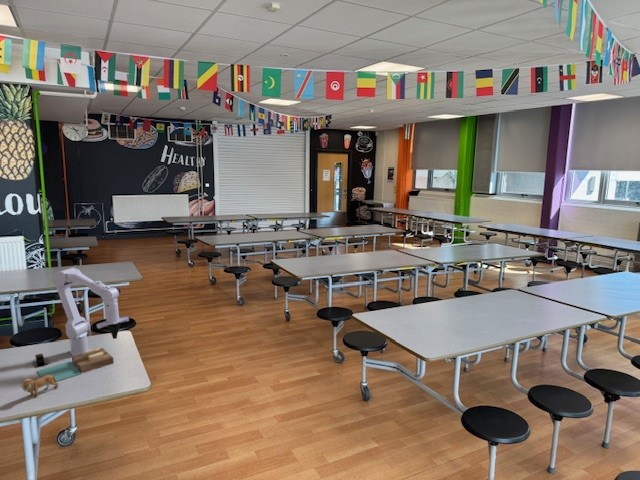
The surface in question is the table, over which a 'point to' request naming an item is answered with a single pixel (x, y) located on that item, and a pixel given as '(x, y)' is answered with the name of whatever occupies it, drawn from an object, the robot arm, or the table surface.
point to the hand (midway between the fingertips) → (114, 338)
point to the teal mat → (60, 371)
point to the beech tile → (94, 354)
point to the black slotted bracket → (40, 361)
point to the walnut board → (88, 365)
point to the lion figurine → (38, 384)
